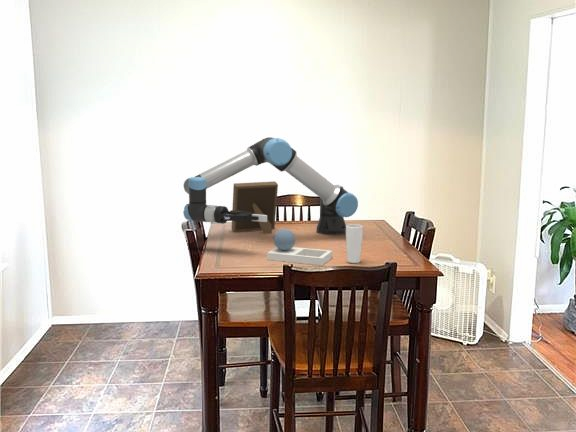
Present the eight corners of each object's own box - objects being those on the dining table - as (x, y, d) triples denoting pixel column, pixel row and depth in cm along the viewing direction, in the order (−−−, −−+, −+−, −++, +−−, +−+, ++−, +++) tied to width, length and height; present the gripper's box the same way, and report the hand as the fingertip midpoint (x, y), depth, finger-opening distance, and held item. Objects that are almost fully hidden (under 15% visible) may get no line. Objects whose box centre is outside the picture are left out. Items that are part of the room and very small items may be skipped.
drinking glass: (344, 260, 241) (344, 224, 238) (360, 259, 241) (360, 224, 239) (347, 264, 234) (347, 227, 231) (363, 263, 235) (364, 227, 232)
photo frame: (231, 230, 299) (230, 182, 294) (271, 227, 306) (271, 179, 301) (239, 236, 285) (238, 186, 280) (281, 233, 293) (281, 183, 288)
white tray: (267, 259, 242) (267, 252, 241) (279, 252, 254) (279, 245, 253) (322, 265, 233) (322, 258, 232) (332, 257, 244) (332, 250, 244)
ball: (292, 247, 250) (292, 226, 249) (297, 252, 242) (297, 231, 240) (272, 248, 249) (271, 227, 247) (276, 253, 240) (276, 232, 238)
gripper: (224, 220, 261) (272, 224, 252) (209, 225, 249) (259, 230, 240) (224, 203, 260) (272, 207, 251) (209, 208, 248) (259, 212, 239)
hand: (266, 218), depth 246 cm, fingers closed
